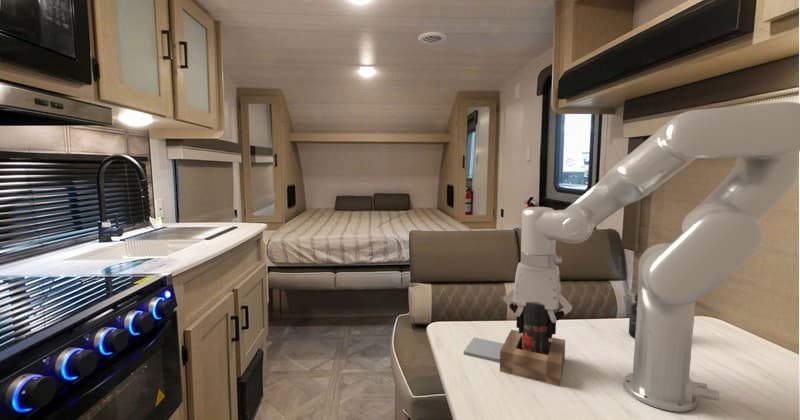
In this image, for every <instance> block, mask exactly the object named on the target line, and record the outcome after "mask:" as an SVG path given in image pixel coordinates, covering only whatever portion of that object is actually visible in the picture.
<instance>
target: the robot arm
mask: <svg viewBox="0 0 800 420" xmlns="http://www.w3.org/2000/svg"><path fill="white" fill-rule="evenodd" d="M799 152H800V103H799V102H795V101H793V102H792V101H780V102H779V101H777V102H768V103H759V104H748V105H747V104H746V105H738V106H737V105H736V106H726V107H714V108H713V107H712V108H701V109H693V110H692V109H691V110H686V111H684V112H681V113H680V114H677V115H676V116H674V117H673V118H672V119H671V120H669V121H667V123H666V124H663V125H662V126H661V127H660V128H659V129H658V130H657V131H656V132H654V133H653V134H652V135H650V136H649V137H648V138H647V139H646V140H645V141H643V142H642V143H641V144H640V145H638V146H637V147H636V148H635V149H634V150H632V151H631V152H629V154H628V155H626V156H625V157H624V158H622V159H621V160H620V161H619V162H617V163H616V164H615V165H614V166H613V167H611V169H609V171H607V172H606V174H605V175H604V176H603V177H602V178H601V179H600V180H599V181H598V182H596V184H595V185H593V186H592V187H590V189H588V190H587V191H586V192H585V193H583V194H582V195H581V196H580V197H579V198H577V199H576V200H575V201H574V202H572V203H571V204H570V205H569V206H567V207H566V208H565V209H558V210H557V209H556V210H555V209H554V208H552V207H546V206H528V207H526V208H524V209H523V210H522V212H521V232H520V233H521V237H520V239H521V240H520V242H521V243H520V262H518V263H517V267H516V271H515V278H514V279H515V280H514V287H513V289H512V290H510V291H509V292H508V293H507V294H506V295H505V296H503V298H502V300H503V302H504V303H505V304H506V305H507V306H508V307H509V309H510V310H511V311H512V312H513V313H514V315H515V317H516V328H517V329H518V331H519V333H522V332H523V308H524V307H525V306H526V303H532V304H539V305H545V309H546V310H548V314H549V316H550V319H549V326H548V338H549V339H552V337H553V335H556V332H557V331H556V330H557V321H559V320H560V319H561V318H563V317H564V316H566V315H567V314H568V313H570V312H572V310H573V306H572V305H571V303H570V302H569V301H568V300H567V299H566V298H565V297H564V295H563V294H562V293H561V292H562V291H561V275H560V269H559V266H558V265H556V264H560V263H561V264H562V263H563V262H562V261H563V256H558V255H557V253H556V242H563V243H568V244H580V243H583V242H586V241H587V240H588V239H589V238H590V237H591V236H592V235H593V232H594V229H595V228H596V227H598V226H599V225H601V223H603V222H604V221H606V220H607V219H608V218H609V217H611V216H612V215H614V214H615V213H616V212H618V211H619V210H621V209H622V208H624V207H626V206H627V205H630V204H632V203H636V202H638V201H640V200H641V199H643V198H645V197H647V196H648V195H650V194H651V193H652V192H653V191H655V190H656V189H658V188H659V187H660V186H662V184H664V183H665V182H667V181H668V180H669V179H670V178H672V177H673V176H675V175H676V174H677V173H678V172H680V171H682V170H683V169H684V168H685V167H687V166H688V165H689V164H691V163H692V162H693V161H695V160H696V159H727V158H728V159H730V158H731V159H732V158H736V163H735V166H734V168H733V169H732V171H731V172H730V173H729V174H728V175H727V176H726V178H725V179H724V180H723V181H722V182H721V183H720V184H719V185H718V186H717V187H716V188H715V189H714V190H713V191H712V192H711V193H710V194H709V195H707V196H706V198H705V199H704V200H702V201H701V202H700V203H699V204H698V205H696V206H695V208H693V209H692V210H690V212H688V213H687V215H686V216H685V217H684V219H683V221H682V224H681V231H682V232H681V234H680V235H679V236H678V237H677V238H675V240H674V241H673V242H671V243H666V242H665V243H657V244H654V245H652V246H650V247H648V248H647V249H645V250H644V252H643V253H642V255H641V256H640V258H639V261H638V268H637V269H638V270H637V293H638V302H637V317H636V332H635V338H634V349H633V350H634V352H633V367H632V372H631V373H628V374H626V375H625V376H624V378H623V386H624V388H625V390H626V392H628V394H630V395H631V396H632V397H634V398H635V399H637V400H638V401H640V402H642V403H644V404H646V405H649V406H651V407H654V408H657V409H661V410H664V411H669V412H681V413H684V412H689V411H692V410H694V409H695V408H697V406H698V398H704V399H706V400H711V401H716V402H719V401H720V393H719V390H717V389H712V388H709V387H708V384H707V383H704V382H696V381H693V379H691V378H690V371H691V358H692V347H693V346H692V345H693V334H694V325H695V324H694V323H695V311H696V310H695V307H696V305H695V304H696V303H697V302H698V301H700V300H702V299H704V298H705V297H706V296H707V295H709V293H711V292H712V291H713V290H715V289H716V288H717V287H718V286H719V285H721V284H722V283H723V282H724V281H725V280H727V279H728V278H729V277H730V276H731V275H733V274H734V273H736V271H737V270H739V269H740V268H741V267H742V266H743V265H745V264H746V263H747V262H748V261H749V260H750V259H752V257H753V256H754V254H755V253H756V252H757V251H758V249H759V247H760V246H761V242H762V239H763V231H762V227H761V225H760V222H761V221H762V220H763V219H765V217H766V216H767V215H768V214H769V213H770V212H772V210H773V209H774V208H776V206H778V204H780V203H781V202H782V200H784V199H785V197H786V196H787V195H788V194H789V193H790V191H791V190H792V188H793V187H794V185H795V183H796V181H797V178H798V174H799V166H800V165H799V164H800V163H799V162H800V161H799V160H800V158H799ZM512 298H513V300H512ZM560 304H561V305H562V308H560V309H559V306H560ZM558 309H559V310H558ZM557 310H558V311H557Z"/></svg>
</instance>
